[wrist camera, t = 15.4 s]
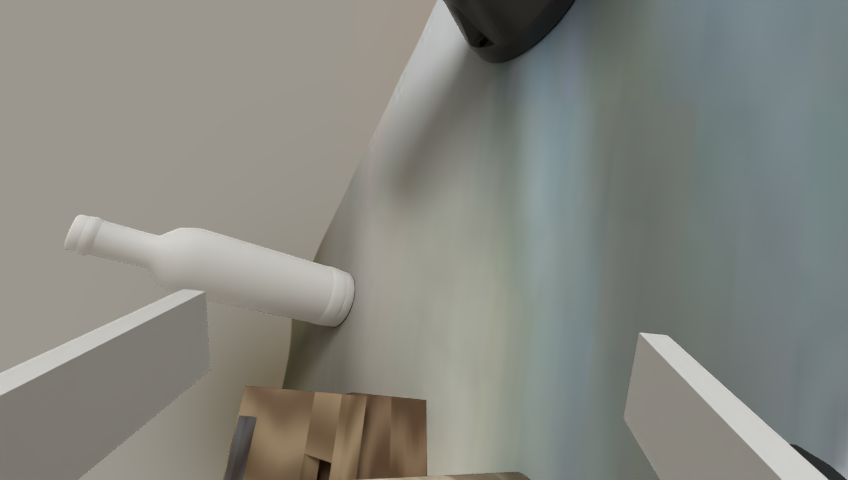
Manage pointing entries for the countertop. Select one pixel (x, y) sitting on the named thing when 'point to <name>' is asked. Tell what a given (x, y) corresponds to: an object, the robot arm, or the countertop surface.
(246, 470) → the toolbox lid
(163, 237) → the bottle
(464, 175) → the countertop surface
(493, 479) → the pin
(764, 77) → the countertop surface
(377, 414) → the toolbox
